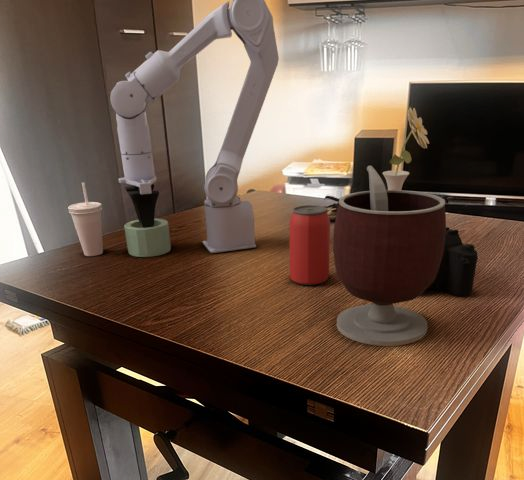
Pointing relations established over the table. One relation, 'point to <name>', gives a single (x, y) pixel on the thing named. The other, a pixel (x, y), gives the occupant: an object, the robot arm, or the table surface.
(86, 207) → the smoothie
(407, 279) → the mate gourd
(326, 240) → the beer can
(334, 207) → the toy figure
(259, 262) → the table surface
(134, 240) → the pale green hollow ring
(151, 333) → the table surface
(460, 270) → the film camera
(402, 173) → the flower in vase
